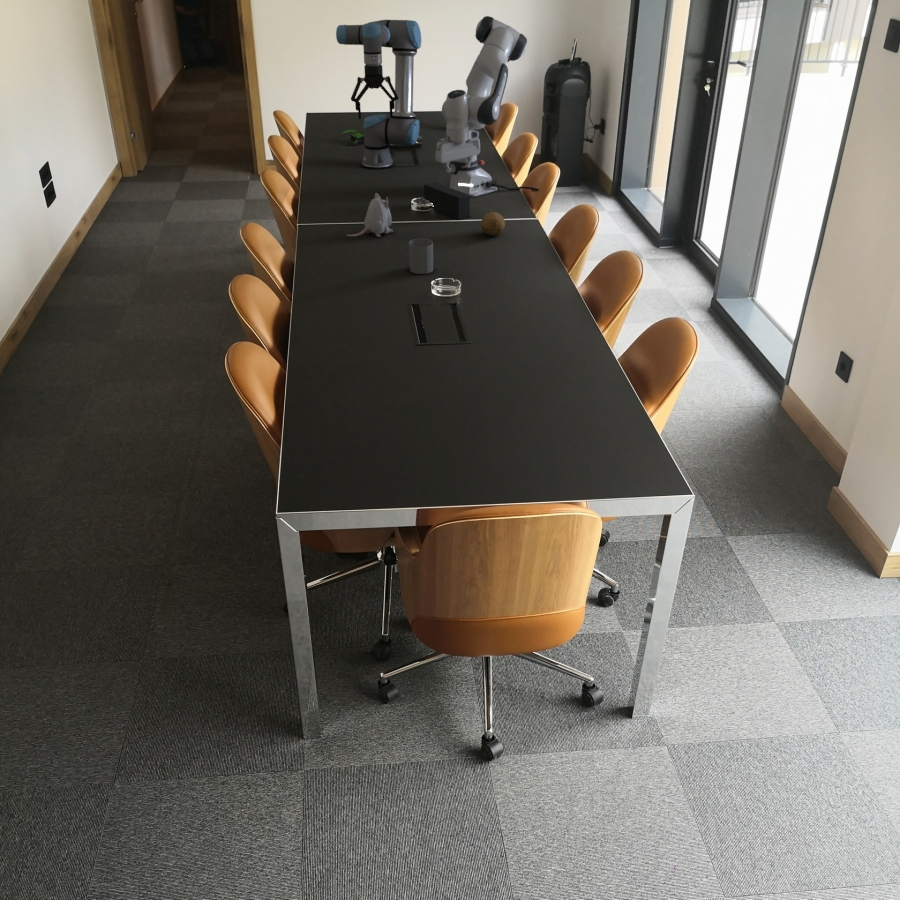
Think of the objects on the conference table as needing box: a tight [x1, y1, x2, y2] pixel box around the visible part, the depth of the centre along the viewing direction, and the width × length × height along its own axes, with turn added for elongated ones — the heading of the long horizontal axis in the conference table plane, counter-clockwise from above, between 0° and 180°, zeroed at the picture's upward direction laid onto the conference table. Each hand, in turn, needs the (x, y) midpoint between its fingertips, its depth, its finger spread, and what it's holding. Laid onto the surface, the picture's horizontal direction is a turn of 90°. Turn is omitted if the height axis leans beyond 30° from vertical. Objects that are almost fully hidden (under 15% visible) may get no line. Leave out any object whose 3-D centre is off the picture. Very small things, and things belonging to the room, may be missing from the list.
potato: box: [480, 211, 506, 237], centre depth 338 cm, size 10×14×8 cm
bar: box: [423, 181, 471, 220], centre depth 363 cm, size 24×6×9 cm, turn 37°
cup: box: [408, 237, 434, 275], centre depth 305 cm, size 8×8×10 cm
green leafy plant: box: [340, 129, 365, 146], centre depth 465 cm, size 6×13×30 cm
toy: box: [346, 192, 394, 238], centre depth 334 cm, size 9×24×15 cm, turn 137°
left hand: (375, 117), depth 374 cm, fingers open, 13 cm apart
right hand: (458, 170), depth 351 cm, fingers open, 8 cm apart
